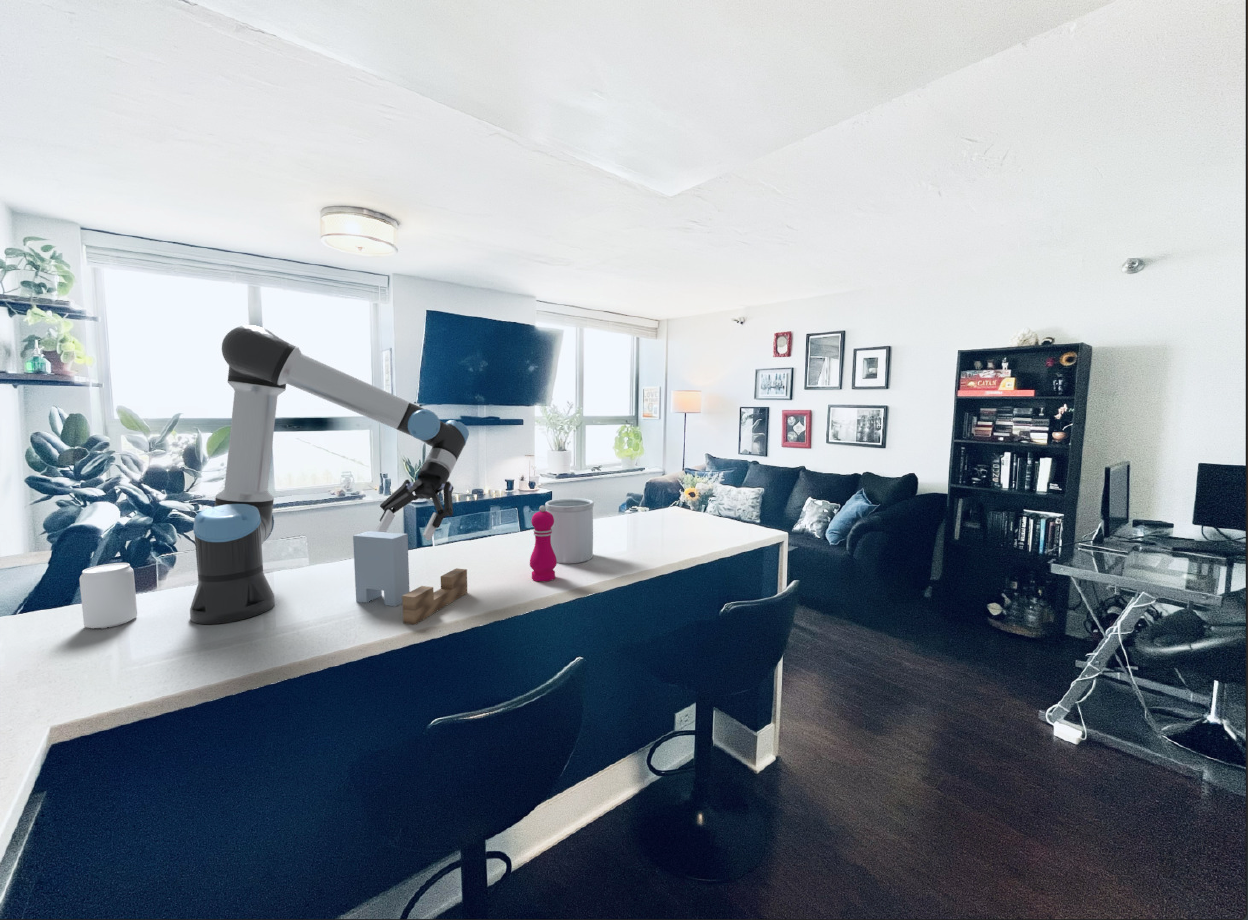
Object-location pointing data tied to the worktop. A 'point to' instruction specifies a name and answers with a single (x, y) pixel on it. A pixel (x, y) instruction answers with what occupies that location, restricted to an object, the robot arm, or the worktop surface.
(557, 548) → the utensil holder
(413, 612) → the walnut slotted rail
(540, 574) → the pepper mill
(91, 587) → the beverage can
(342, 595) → the worktop surface
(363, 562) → the tall grey pillar
